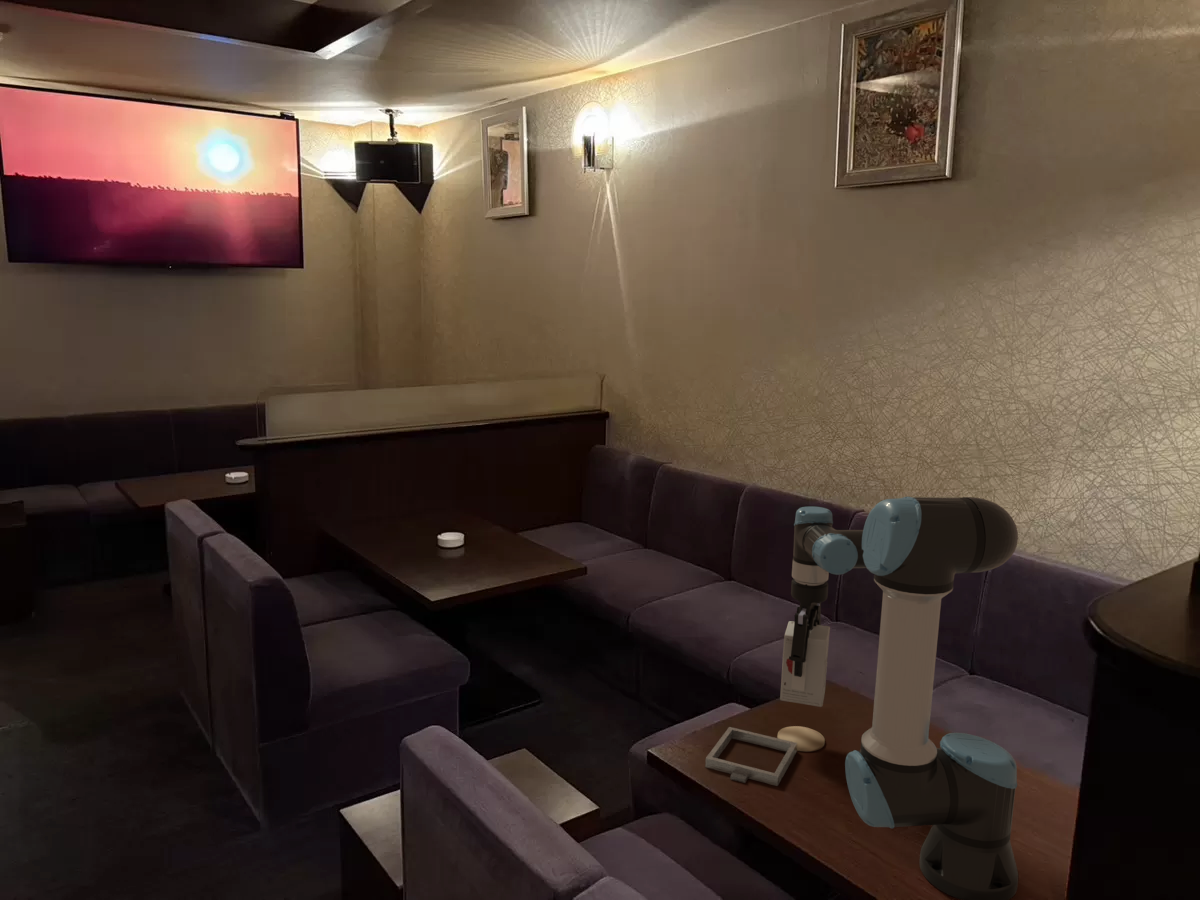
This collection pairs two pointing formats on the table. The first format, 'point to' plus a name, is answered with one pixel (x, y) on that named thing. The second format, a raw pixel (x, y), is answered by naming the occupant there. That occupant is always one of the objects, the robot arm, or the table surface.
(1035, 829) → the table surface
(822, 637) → the supplement box
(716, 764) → the grey frame with tab
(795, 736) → the coaster
